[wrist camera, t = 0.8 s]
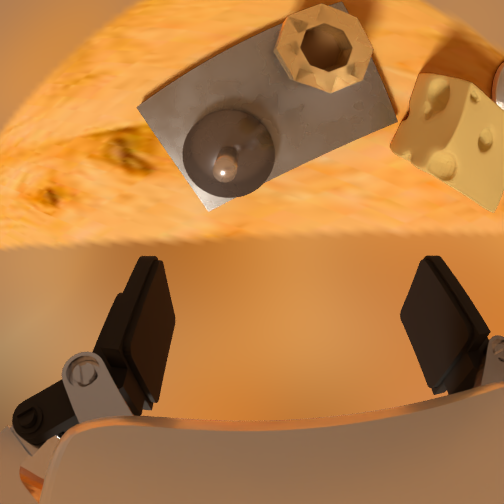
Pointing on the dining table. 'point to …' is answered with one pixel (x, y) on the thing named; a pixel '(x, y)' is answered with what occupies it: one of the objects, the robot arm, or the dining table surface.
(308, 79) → the collar
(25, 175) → the dining table surface
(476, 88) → the cheese
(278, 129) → the plate
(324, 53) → the brown rounded dome
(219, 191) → the hub
